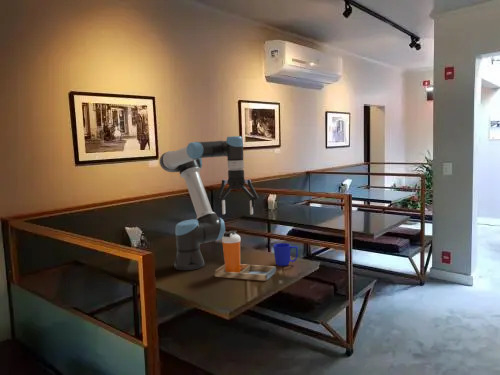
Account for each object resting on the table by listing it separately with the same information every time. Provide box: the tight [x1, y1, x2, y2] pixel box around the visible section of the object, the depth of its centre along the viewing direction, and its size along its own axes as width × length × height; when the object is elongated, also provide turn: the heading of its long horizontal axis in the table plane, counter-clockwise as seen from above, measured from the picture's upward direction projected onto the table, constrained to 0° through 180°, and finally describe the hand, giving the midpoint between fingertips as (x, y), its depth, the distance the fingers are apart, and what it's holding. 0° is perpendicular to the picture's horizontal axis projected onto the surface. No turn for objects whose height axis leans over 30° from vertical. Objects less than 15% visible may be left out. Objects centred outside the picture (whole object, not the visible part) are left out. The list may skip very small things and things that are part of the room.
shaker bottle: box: [221, 230, 242, 273], centre depth 197 cm, size 9×9×20 cm
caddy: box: [213, 263, 277, 282], centre depth 195 cm, size 26×13×2 cm, turn 68°
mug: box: [273, 242, 299, 267], centre depth 206 cm, size 8×12×10 cm
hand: (237, 214), depth 197 cm, fingers open, 13 cm apart
